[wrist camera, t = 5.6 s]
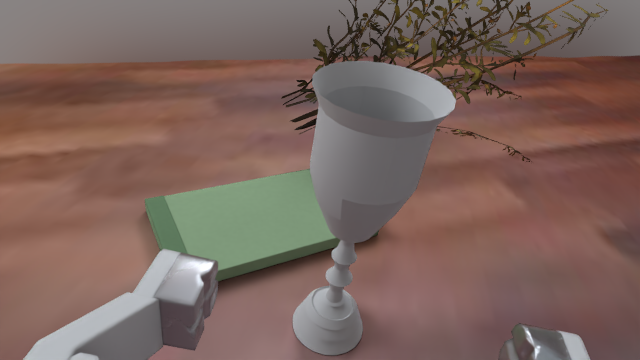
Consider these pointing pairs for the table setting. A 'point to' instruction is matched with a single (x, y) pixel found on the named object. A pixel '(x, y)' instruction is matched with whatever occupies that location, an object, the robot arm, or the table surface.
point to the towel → (244, 223)
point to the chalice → (363, 175)
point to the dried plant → (439, 48)
